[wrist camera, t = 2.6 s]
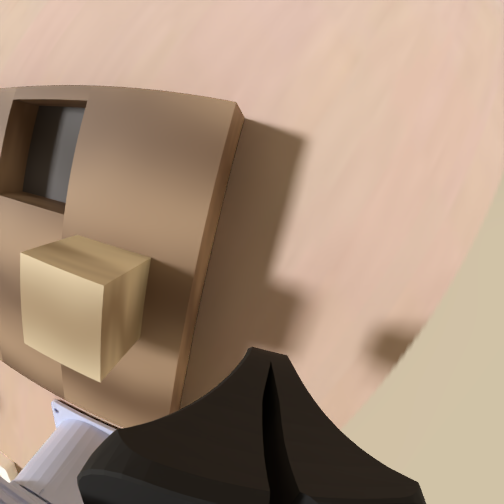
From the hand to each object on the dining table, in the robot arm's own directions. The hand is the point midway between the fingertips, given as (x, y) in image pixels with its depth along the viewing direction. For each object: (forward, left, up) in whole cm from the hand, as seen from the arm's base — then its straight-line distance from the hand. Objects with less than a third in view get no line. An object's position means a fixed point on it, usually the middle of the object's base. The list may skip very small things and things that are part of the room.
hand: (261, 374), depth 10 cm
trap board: (0, +17, -6) cm, 18 cm away
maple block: (0, +8, -3) cm, 8 cm away
